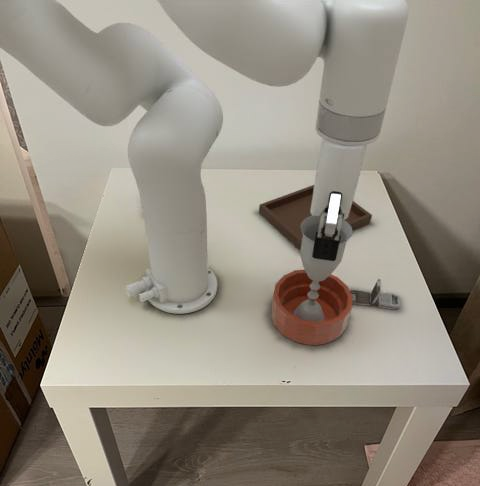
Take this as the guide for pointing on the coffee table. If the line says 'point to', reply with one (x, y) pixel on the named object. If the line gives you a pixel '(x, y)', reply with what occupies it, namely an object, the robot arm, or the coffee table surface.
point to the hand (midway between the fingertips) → (327, 236)
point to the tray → (303, 214)
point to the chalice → (317, 265)
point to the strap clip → (376, 297)
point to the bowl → (330, 299)
